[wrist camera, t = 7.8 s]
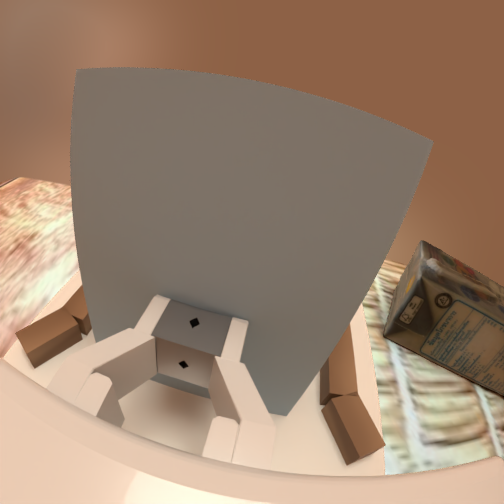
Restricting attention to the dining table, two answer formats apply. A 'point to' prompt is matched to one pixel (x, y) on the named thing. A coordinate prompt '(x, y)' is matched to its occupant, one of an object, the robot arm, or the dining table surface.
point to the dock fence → (331, 375)
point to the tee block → (235, 210)
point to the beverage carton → (450, 316)
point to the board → (202, 413)
